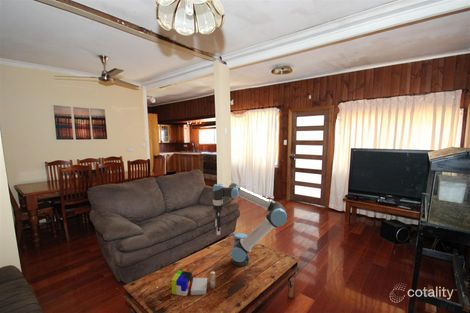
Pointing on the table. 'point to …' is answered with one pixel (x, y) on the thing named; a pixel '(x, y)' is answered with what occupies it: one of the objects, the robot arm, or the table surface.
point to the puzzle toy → (181, 283)
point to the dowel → (212, 279)
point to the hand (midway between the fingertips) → (217, 230)
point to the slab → (199, 286)
